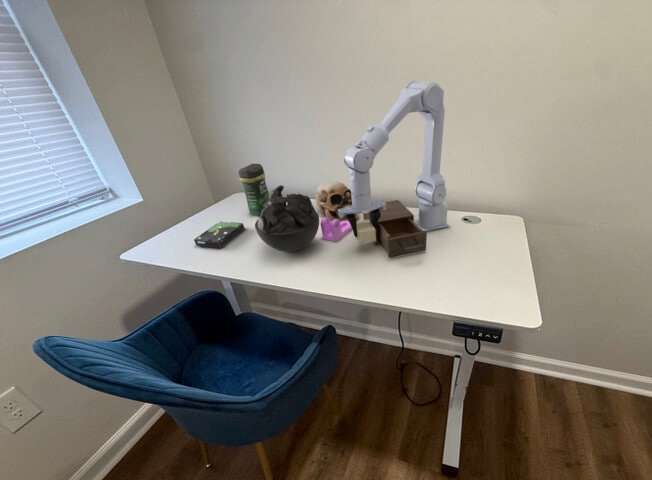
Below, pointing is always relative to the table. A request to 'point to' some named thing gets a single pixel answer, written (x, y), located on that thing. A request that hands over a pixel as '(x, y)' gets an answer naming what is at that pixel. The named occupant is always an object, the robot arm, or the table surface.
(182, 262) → the table surface
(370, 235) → the beige rectangular block
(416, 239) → the drawer
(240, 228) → the disk drive
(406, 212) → the cabinet
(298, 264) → the table surface
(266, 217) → the bowl of black rocks
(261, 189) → the coffee jar
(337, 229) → the bracket
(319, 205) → the skull
